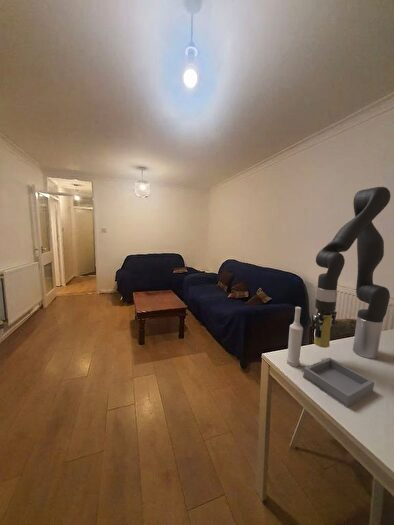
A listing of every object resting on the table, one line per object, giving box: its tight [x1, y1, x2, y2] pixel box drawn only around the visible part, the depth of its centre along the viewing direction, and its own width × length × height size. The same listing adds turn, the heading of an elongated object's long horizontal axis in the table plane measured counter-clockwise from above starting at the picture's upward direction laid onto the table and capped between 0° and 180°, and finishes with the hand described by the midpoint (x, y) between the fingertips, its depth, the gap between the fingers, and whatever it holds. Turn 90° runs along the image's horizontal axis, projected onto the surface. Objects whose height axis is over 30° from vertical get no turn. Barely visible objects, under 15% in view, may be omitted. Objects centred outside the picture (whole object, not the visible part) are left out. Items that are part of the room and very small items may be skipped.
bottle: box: [286, 306, 304, 368], centre depth 91 cm, size 5×5×25 cm
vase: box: [313, 313, 332, 348], centre depth 94 cm, size 6×6×14 cm
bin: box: [302, 357, 375, 408], centre depth 80 cm, size 16×16×4 cm
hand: (322, 335), depth 94 cm, fingers closed on vase, 5 cm apart
